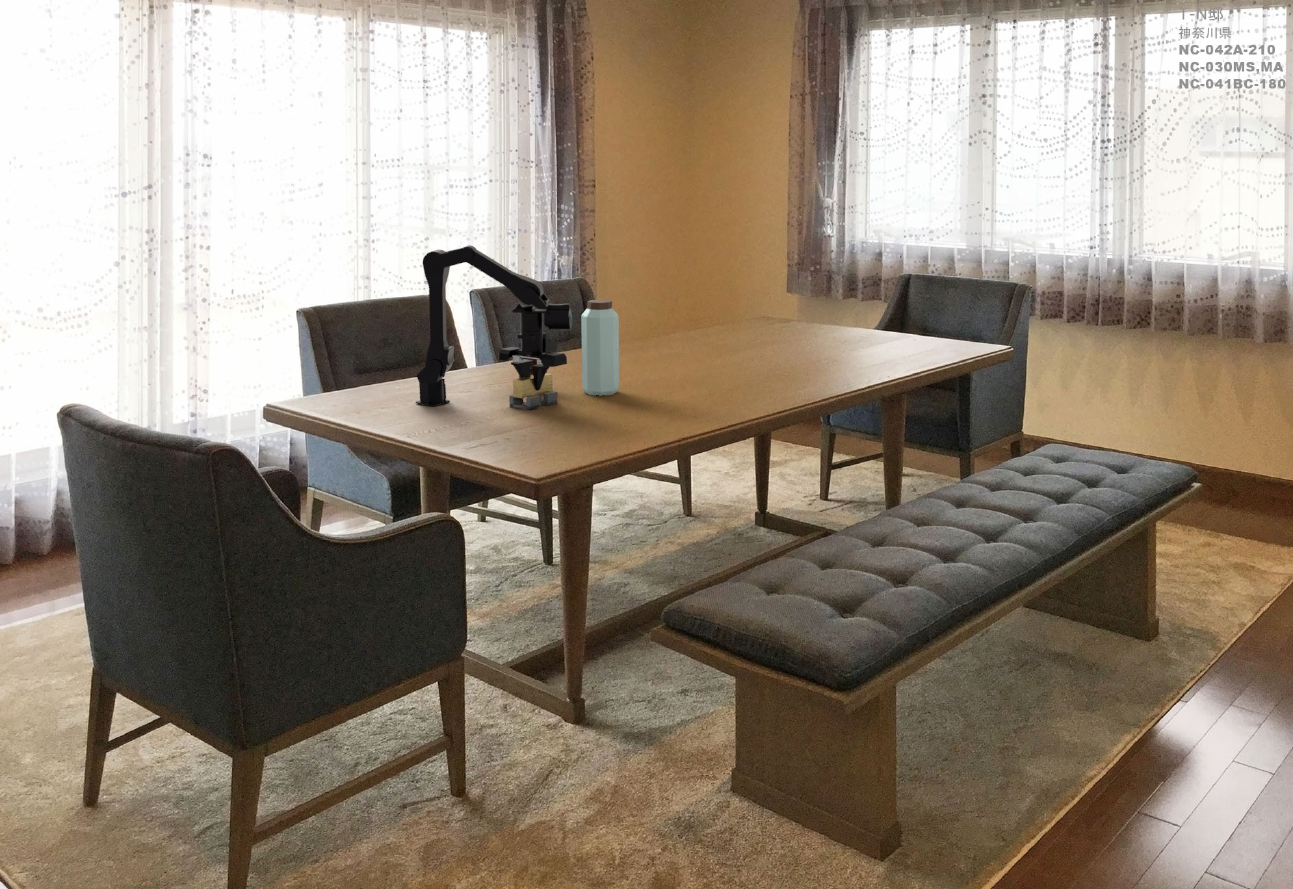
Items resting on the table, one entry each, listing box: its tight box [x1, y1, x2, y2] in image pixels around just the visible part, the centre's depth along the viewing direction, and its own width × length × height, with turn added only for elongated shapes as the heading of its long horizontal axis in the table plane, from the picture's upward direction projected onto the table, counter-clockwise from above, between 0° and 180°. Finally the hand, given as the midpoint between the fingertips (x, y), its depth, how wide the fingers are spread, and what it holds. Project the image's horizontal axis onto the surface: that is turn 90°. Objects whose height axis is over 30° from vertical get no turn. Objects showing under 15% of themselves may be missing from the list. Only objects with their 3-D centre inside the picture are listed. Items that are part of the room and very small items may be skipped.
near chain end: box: [508, 394, 541, 411], centre depth 321 cm, size 4×7×3 cm, turn 55°
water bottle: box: [580, 299, 620, 397], centre depth 336 cm, size 10×10×25 cm
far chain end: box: [526, 390, 558, 406], centre depth 326 cm, size 4×7×3 cm, turn 55°
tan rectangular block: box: [512, 372, 554, 399], centre depth 323 cm, size 12×3×4 cm, turn 144°
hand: (533, 389), depth 323 cm, fingers closed on tan rectangular block, 3 cm apart
